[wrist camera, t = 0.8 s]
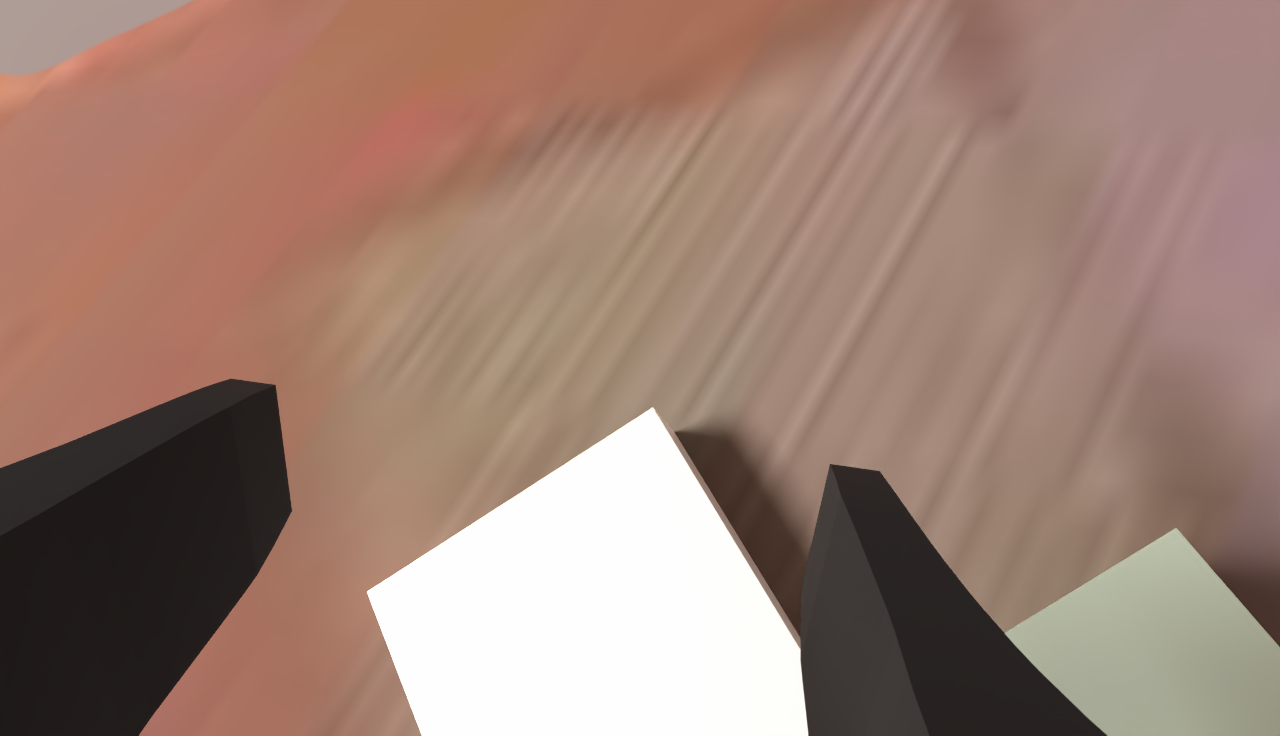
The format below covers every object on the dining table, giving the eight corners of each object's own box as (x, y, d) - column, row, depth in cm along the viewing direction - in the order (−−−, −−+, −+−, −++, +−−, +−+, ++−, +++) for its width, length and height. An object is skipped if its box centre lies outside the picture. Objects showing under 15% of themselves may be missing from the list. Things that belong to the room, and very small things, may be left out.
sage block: (1254, 722, 21) (1352, 730, 16) (1093, 820, 21) (1144, 854, 17) (1121, 560, 23) (1176, 527, 18) (974, 651, 23) (992, 640, 19)
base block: (860, 733, 23) (853, 738, 21) (550, 923, 24) (505, 952, 21) (677, 435, 28) (652, 407, 25) (418, 601, 28) (366, 592, 26)
